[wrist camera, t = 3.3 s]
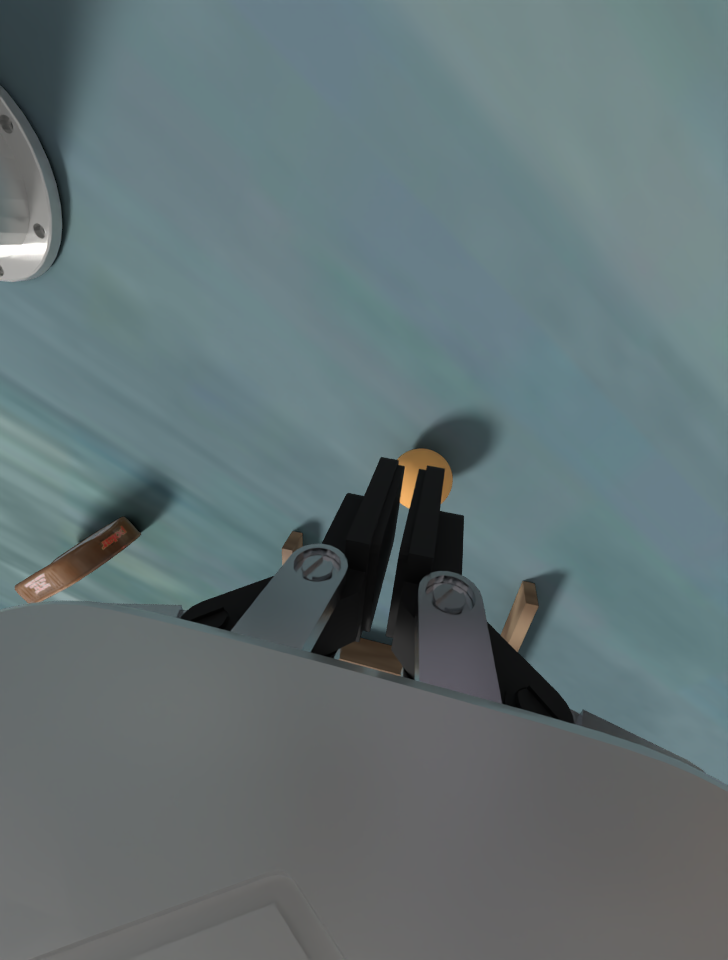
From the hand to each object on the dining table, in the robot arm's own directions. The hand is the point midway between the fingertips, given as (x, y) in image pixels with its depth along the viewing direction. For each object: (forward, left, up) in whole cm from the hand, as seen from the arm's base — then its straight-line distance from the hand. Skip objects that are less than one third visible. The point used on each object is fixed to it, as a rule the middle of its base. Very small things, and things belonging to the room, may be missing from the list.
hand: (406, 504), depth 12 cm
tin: (+24, -33, -17) cm, 44 cm away
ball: (+8, 0, -15) cm, 17 cm away
